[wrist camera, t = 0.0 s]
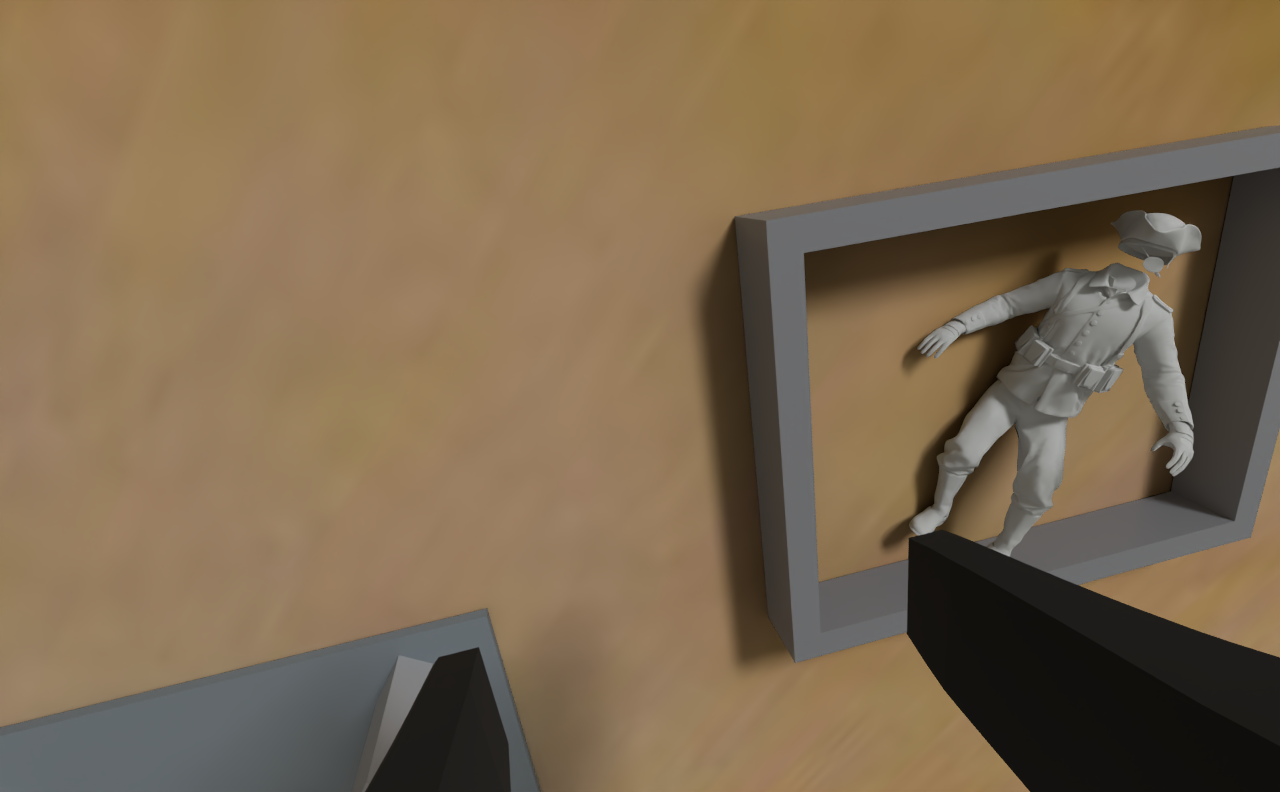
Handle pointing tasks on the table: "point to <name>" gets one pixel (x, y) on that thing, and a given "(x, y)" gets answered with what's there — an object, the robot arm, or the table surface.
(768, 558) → the figure stand rim
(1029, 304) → the soldier figure
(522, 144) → the table surface
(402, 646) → the board
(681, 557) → the table surface
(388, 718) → the keeper
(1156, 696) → the robot arm
